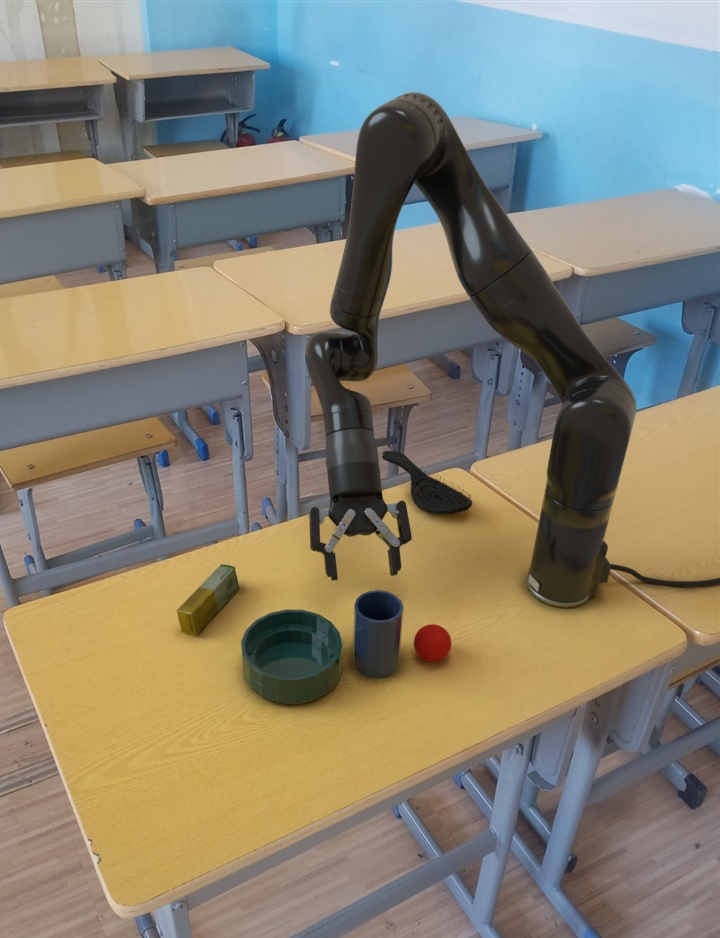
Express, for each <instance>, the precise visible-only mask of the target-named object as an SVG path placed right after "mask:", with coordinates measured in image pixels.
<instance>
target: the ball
mask: <svg viewBox="0 0 720 938" xmlns="http://www.w3.org/2000/svg"><path fill="white" fill-rule="evenodd" d="M413 646H414V650H415V652H416V654H417V656H419V657H420V658H421V659H422V660H424V661H426V662H429V663H430V662H431V663H435V662H436V663H437V662H440V661H442V660H444V659H445V658H446V657H447V656H448V655H449V654H450V652H451V649H452V639H451V635H450V633H449V632H448V631H447V629H445V628H444V627H443V626H441V625H438V624H435V623H434V624H433V623H430V624H426V625H423V626H422V627H421V628H419V629H418V630H417V631H416V633H415V636H414V638H413Z"/></svg>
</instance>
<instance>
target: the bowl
mask: <svg viewBox="0 0 720 938" xmlns="http://www.w3.org/2000/svg"><path fill="white" fill-rule="evenodd" d="M240 645H241V647H240V648H241V657H242V658H241V659H242V671H243V672H242V673H243V679H244V680H245V682H246V684H247V685H248V687H249V689H250V690H252V692H254V693H255V694H257V695H258V696H260V697H261V698H262V699H264V700H268V701H272V702H274V703H278V704H285V705H287V704H289V705H298V704H303V703H307V702H311V701H315V700H317V699H320V698H321V697H323V696H324V695H326V694H327V693H329V692H330V691H331V690H332V689H333V687H334V686H335V685H336V684H337V683H338V682H339V680H340V676H341V672H342V668H343V642H342V637H341V633H340V631H339V630H338V628H337V627H336V626H335V624H334V623H333V622H332V621H331V620H330V619H328V618H326V617H324V616H323V615H321V614H320V613H317V612H313V611H309V610H306V609H291V608H290V609H280V610H277V611H273V612H269V613H267V614H265V615H263V616H261V617H259V618H257V619H256V620H254V621H253V622H252V623H251V624H250V625H249V626H248V627H247V628H246V629H245V632H244V633H243V636H242V638H241V641H240Z"/></svg>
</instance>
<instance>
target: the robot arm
mask: <svg viewBox="0 0 720 938" xmlns="http://www.w3.org/2000/svg"><path fill="white" fill-rule="evenodd" d="M353 173H354V174H353V184H352V185H353V187H352V196H351V202H350V203H351V204H350V212H349V218H348V219H349V221H348V227H347V233H346V237H345V238H346V239H345V244H344V249H343V254H342V258H341V261H340V266H339V269H338V273H337V277H336V280H335V285H334V287H333V288H334V289H333V292H332V296H331V300H330V304H329V316H330V319H331V321H332V322H334V324H335V325H336V326H339V327H340V328H341V329H344V330H347V331H349V332H343V331H318V332H316V333H314V334H313V335H311V337H309V339H308V341H307V344H306V346H305V350H304V359H305V365H306V369H307V373H308V376H309V377H310V380H311V382H312V385H313V387H314V390H315V393H316V395H317V398H318V400H319V404H320V406H321V410H322V416H323V423H324V425H323V426H324V435H325V451H324V452H325V453H324V454H325V468H326V473H327V484H328V493H329V507H328V508H318V507H316V506H313V507H311V509H310V510H309V513H308V518H309V519H308V521H309V522H308V523H309V548H310V550H311V551H312V552H317V553H321V554H322V555H323V559H324V567H325V568H324V569H325V575H326V576H327V577H326V578H330V580H331V582H334V581H336V582H337V581H338V579H339V577H338V567H337V558H336V552H334V550H335V548H336V547H337V545H338V543H339V542H340V540H341V539H342V537H343V536H347V537H348V538H351V537H352V538H353V537H356V536H371V535H372V534H375V535H376V536H377V537H378V538H379V539H380V540H381V541H382V542H383V543H384V544H385V545H386V546H387V547H388V550H387V559H388V566H389V575H390V577H394V576H397V575H398V574H399V572H400V571H401V569H402V558H401V547H402V546H404V545H406V544H408V543H409V542H411V541H412V539H413V536H412V529H411V524H410V517H409V512H408V507H407V503H406V501H404V500H399V501H398V502H393V503H386V502H385V500H384V497H383V487H382V479H381V469H380V461H379V451H378V445H377V441H376V437H375V431H374V430H375V429H374V422H373V413H372V404H371V401H370V399H369V397H368V396H367V395H366V394H364V393H362V392H358V391H354V390H351V389H349V388H347V387H345V386H343V384H342V383H341V382H363V381H366V380H368V379H369V378H370V377H371V376H372V375H373V374H374V372H375V371H376V368H377V367H378V359H379V358H378V357H379V355H378V333H379V321H380V314H381V311H382V308H383V305H384V302H385V298H386V296H387V293H388V290H389V289H388V288H389V285H390V281H391V276H392V272H393V249H394V248H393V246H394V245H393V244H394V235H395V231H396V226H397V223H398V219H399V216H400V214H401V212H402V208H403V206H404V205H405V202H406V200H407V198H408V196H409V194H410V191H411V189H412V188H413V186H414V185H415V187H416V188H417V189H418V190H419V191H420V193H421V195H423V197H424V198H425V199H426V201H427V202H428V204H429V205H430V206H431V208H432V210H433V211H434V213H435V215H436V217H437V218H438V220H439V222H440V225H441V228H442V230H443V233H444V236H445V240H446V242H447V247H448V250H449V253H450V254H449V255H450V257H451V262H452V263H453V267H454V270H455V273H456V275H457V278H458V280H459V282H460V285H461V286H462V288H463V289H464V291H465V293H466V295H467V296H468V297H469V299H470V301H471V302H472V303H473V305H474V306H475V307H476V309H477V310H478V311H479V313H480V314H481V316H482V317H483V319H484V320H485V321H486V323H487V324H488V325H489V326H490V327H491V329H493V331H495V332H496V333H497V334H498V335H499V336H501V338H503V339H505V340H506V341H507V342H508V343H510V344H511V345H513V347H515V348H517V349H519V350H520V351H522V352H523V353H524V354H525V355H526V356H528V357H529V358H530V359H532V360H533V362H535V363H536V365H537V366H538V367H539V368H540V369H541V371H542V372H543V373H544V375H545V377H546V378H547V379H548V381H549V382H550V384H551V386H552V387H553V389H554V390H555V393H556V394H557V396H558V398H559V400H560V402H561V404H562V406H561V408H560V410H559V412H558V414H557V418H556V421H555V425H554V429H553V435H552V438H551V439H552V440H551V446H550V451H549V457H548V462H547V468H546V483H545V489H544V493H543V497H542V498H543V499H542V503H541V508H540V514H539V519H538V525H537V529H536V535H535V540H534V546H533V551H532V554H531V561H530V564H529V569H528V574H527V578H526V587H527V589H528V592H529V593H530V594H531V595H532V596H533V597H534V598H535V599H537V600H538V601H540V602H542V603H544V604H547V605H549V606H551V607H552V606H553V607H555V608H556V607H557V608H575V607H579V606H581V605H584V604H585V603H586V602H588V600H589V599H595V598H596V596H597V593H598V589H599V584H607V583H608V582H609V577H610V574H611V571H617V572H624V573H626V574H629V575H631V576H633V577H634V578H636V579H637V580H639V581H640V582H644V583H647V584H651V585H658V586H667V587H678V588H679V587H682V588H683V587H684V588H685V587H705V586H713V585H718V584H720V577H717V578H712V579H704V580H690V581H688V580H687V581H685V580H683V581H682V580H680V581H678V580H664V579H657V578H653V577H648V576H645V575H642V574H641V573H639V572H638V571H636V570H635V569H633V568H630V567H627V566H623V565H619V564H613V563H610V562H609V560H608V558H607V553H608V550H609V545H608V543H607V542H606V541H605V537H606V534H607V529H608V525H609V521H610V518H611V513H612V510H613V505H614V501H615V498H616V494H617V491H618V490H617V489H618V487H619V482H620V478H621V475H622V471H623V466H624V462H625V458H626V456H627V455H626V454H627V451H628V447H629V443H630V439H631V436H632V430H633V427H634V423H635V420H636V416H637V415H636V414H637V400H636V398H635V395H634V392H633V390H632V388H631V387H630V386H629V384H628V383H627V382H626V381H625V379H624V378H623V377H622V375H621V374H620V373H619V372H618V371H617V370H616V369H615V367H613V365H612V364H611V363H610V362H609V361H608V360H607V358H606V357H605V356H604V355H603V354H602V352H601V350H599V349H598V347H596V346H595V344H594V343H593V342H592V341H591V339H590V338H589V336H588V335H587V334H586V332H585V331H584V329H583V327H582V326H581V324H580V323H579V321H578V320H577V318H576V316H575V315H574V312H573V311H572V310H571V308H570V307H569V305H568V303H567V302H566V300H565V298H564V297H563V295H561V293H560V291H559V290H558V288H557V287H556V285H555V283H554V282H553V280H552V279H551V277H550V276H549V274H548V272H547V270H546V269H545V267H544V266H543V264H542V263H541V261H540V259H538V257H537V256H536V254H535V252H534V251H533V250H532V248H531V246H529V244H528V243H527V241H526V240H525V238H523V237H524V236H522V234H521V233H520V231H519V230H518V229H517V227H516V226H515V225H514V222H512V220H511V219H510V217H509V216H508V214H507V212H506V211H505V210H504V208H503V206H501V204H500V202H499V201H498V199H497V198H496V197H495V196H494V194H493V192H492V191H491V190H490V188H489V187H488V185H487V184H486V183H485V180H484V179H483V178H482V176H481V175H480V173H479V170H478V169H477V168H476V166H475V164H474V162H473V160H472V158H471V156H470V154H469V152H468V151H467V149H466V147H465V145H464V143H463V141H462V139H461V138H460V135H459V133H458V132H457V130H456V128H455V126H454V124H453V122H452V120H451V119H450V117H449V115H448V113H447V112H446V111H445V109H444V108H443V106H442V105H441V104H439V103H438V101H436V100H435V98H433V97H431V96H429V95H427V94H425V93H422V92H417V91H412V92H411V91H410V92H406V93H403V94H400V95H398V96H397V97H394V98H392V99H391V100H389V101H387V102H385V103H383V104H381V105H380V106H378V107H377V108H375V109H373V110H372V111H371V112H370V113H369V114H368V116H366V118H365V119H364V121H363V123H362V125H361V126H360V129H359V133H358V136H357V143H356V149H355V160H354V172H353ZM387 513H389V514H390V515H391V517H392V518H394V519H396V524H397V530H398V537H397V536H396V535H395V534H394V533H393V532H392V531H391V529H390V527H389V526H388V525H387V524H386V523H385V522H384V521H383V520H384V519H385V517H386V515H387ZM326 517H328V518H329V520H330V521H331V522H332V523H333V524H334V525H335V526H336V528H335V530H334V531H333V533H332V534H331V536H330V538H329V539H328V541H327V543H325V542H321V526H320V525H322V524H324V523H325V520H326Z"/></svg>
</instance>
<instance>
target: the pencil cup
mask: <svg viewBox="0 0 720 938" xmlns="http://www.w3.org/2000/svg"><path fill="white" fill-rule="evenodd" d="M404 610H405V608H404V604H403V601H402V599H401V598H399V597H398V595H396V594H394V593H392V592H390V591H388V590H387V591H386V590H381V589H376V590H375V589H374V590H368V591H366V592H363V593H360V595H359V596H358V597H357V598H356V599H355V602H354V605H353V631H352V665H353V667H354V668H355V670H356V671H357V672H358V673H359V674H360V675H362V676H365V677H366V678H369V679H370V678H371V679H383V678H387V677H389V676H392V675H393V674H394V673H395V672H396V671H397V670H398V668H399V666H400V665H399V664H400V656H401V644H402V632H403V621H404Z"/></svg>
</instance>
